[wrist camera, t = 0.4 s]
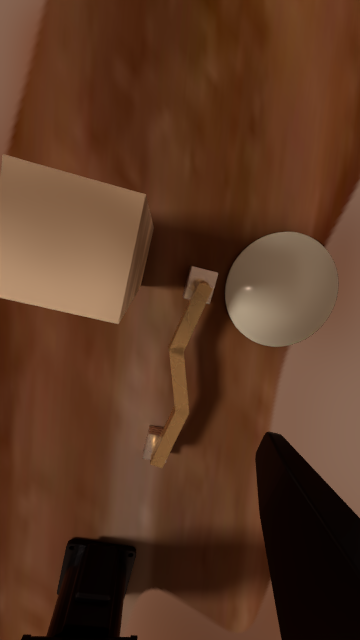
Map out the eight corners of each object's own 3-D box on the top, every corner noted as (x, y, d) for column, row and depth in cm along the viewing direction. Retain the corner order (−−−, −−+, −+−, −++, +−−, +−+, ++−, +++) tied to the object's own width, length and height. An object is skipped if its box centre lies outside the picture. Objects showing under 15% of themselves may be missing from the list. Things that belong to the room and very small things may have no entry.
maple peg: (140, 285, 22) (118, 323, 10) (82, 271, 21) (-13, 294, 9) (153, 227, 21) (145, 194, 9) (93, 211, 20) (2, 154, 9)
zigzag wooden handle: (169, 453, 25) (170, 479, 22) (139, 448, 25) (136, 474, 22) (219, 272, 22) (228, 276, 19) (186, 264, 22) (190, 266, 19)
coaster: (312, 355, 24) (315, 356, 24) (211, 331, 23) (212, 333, 22) (352, 249, 22) (355, 249, 22) (243, 218, 21) (245, 217, 21)
